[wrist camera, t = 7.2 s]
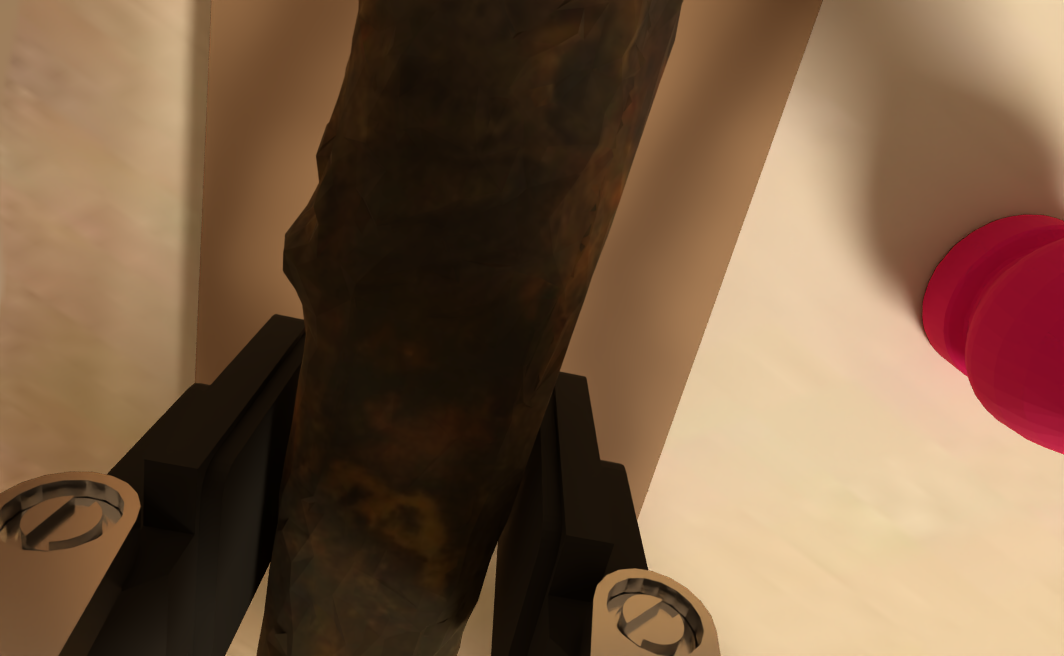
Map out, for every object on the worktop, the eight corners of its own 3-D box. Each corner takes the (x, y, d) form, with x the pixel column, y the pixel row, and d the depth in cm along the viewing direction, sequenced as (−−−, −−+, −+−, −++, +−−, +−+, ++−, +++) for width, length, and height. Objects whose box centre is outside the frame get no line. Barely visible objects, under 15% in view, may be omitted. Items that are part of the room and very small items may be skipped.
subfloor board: (862, -155, 20) (882, -166, 19) (621, 534, 30) (625, 554, 29) (244, -333, 19) (225, -358, 18) (203, 458, 29) (189, 477, 28)
